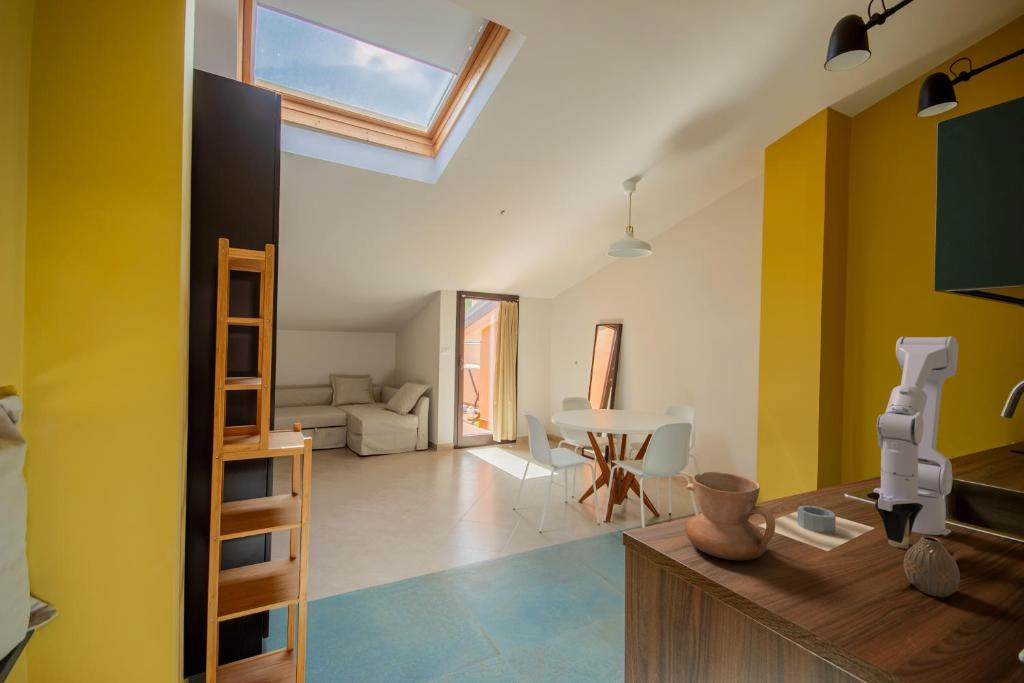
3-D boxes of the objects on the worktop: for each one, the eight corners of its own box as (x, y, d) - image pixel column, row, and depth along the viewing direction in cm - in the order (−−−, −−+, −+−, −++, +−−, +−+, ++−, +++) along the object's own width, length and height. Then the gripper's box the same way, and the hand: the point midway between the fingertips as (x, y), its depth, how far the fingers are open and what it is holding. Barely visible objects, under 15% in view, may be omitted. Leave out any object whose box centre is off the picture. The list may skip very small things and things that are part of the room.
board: (806, 510, 111) (806, 507, 111) (874, 531, 99) (874, 528, 99) (757, 529, 99) (757, 525, 99) (827, 555, 87) (827, 551, 87)
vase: (971, 605, 71) (972, 550, 71) (921, 599, 72) (921, 545, 72) (939, 582, 78) (939, 532, 78) (894, 577, 79) (894, 528, 79)
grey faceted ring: (807, 518, 104) (807, 503, 104) (840, 529, 98) (840, 513, 98) (791, 524, 100) (791, 509, 100) (825, 535, 94) (826, 519, 94)
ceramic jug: (665, 541, 92) (666, 474, 92) (708, 526, 100) (710, 464, 100) (749, 584, 77) (751, 503, 77) (793, 562, 84) (795, 488, 84)
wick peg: (891, 543, 93) (892, 505, 93) (911, 550, 90) (911, 510, 90) (885, 547, 91) (885, 508, 91) (905, 553, 88) (905, 513, 88)
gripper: (889, 463, 98) (888, 524, 98) (860, 472, 90) (859, 539, 90) (931, 471, 92) (930, 536, 92) (904, 481, 84) (903, 553, 84)
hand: (898, 538), depth 91 cm, fingers closed on wick peg, 3 cm apart
